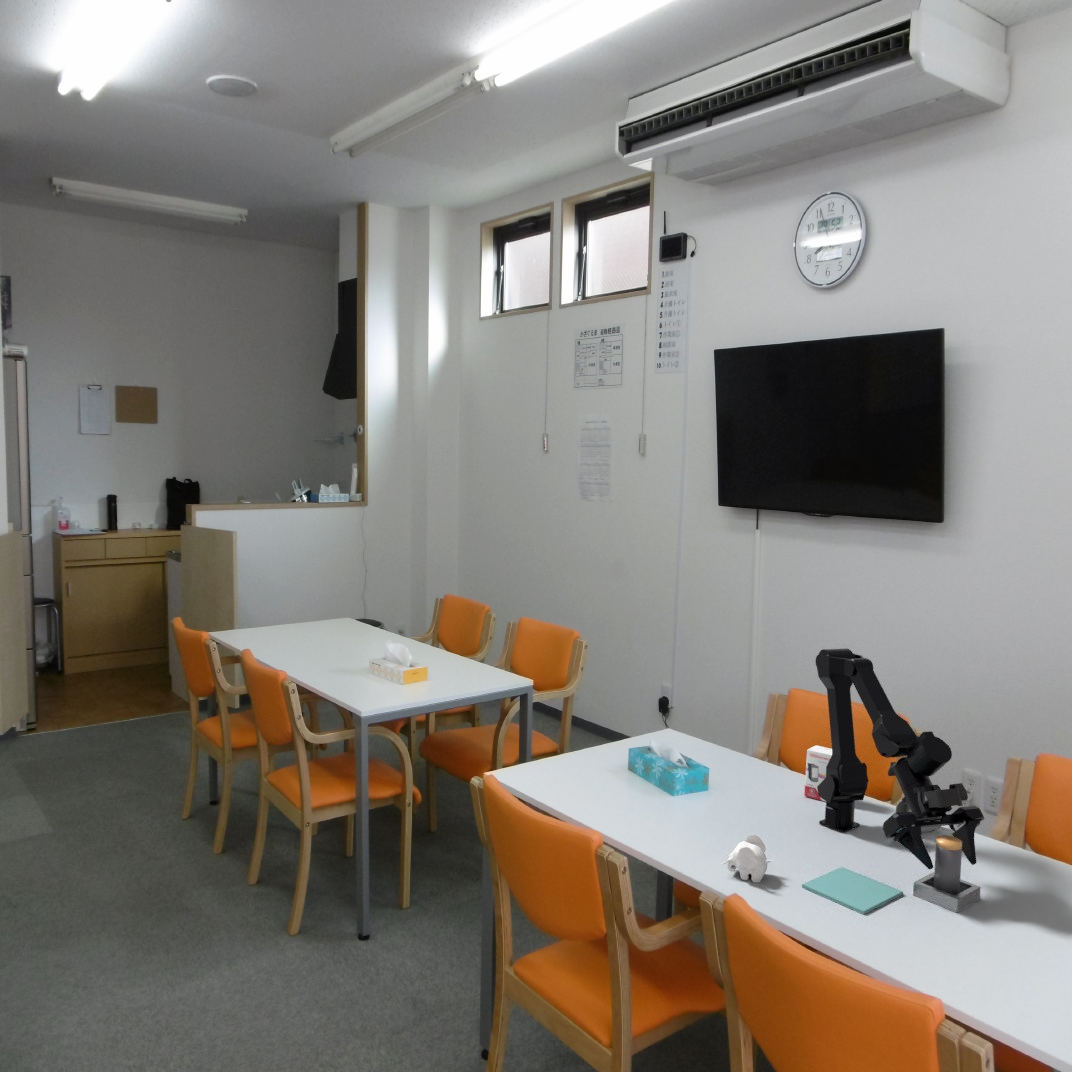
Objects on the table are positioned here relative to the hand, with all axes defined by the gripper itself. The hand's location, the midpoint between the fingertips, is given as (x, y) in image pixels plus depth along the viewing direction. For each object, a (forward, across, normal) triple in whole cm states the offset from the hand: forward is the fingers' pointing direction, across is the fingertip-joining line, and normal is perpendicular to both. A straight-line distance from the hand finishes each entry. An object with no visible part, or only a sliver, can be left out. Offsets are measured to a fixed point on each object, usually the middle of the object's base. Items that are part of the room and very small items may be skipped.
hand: (953, 866), depth 167 cm
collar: (+4, 0, +6) cm, 7 cm away
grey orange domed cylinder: (+4, 0, +6) cm, 7 cm away
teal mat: (-1, -16, +10) cm, 19 cm away
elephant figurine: (-8, -32, +17) cm, 38 cm away
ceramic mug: (-17, +16, +27) cm, 36 cm away
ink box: (-32, +6, +42) cm, 53 cm away
